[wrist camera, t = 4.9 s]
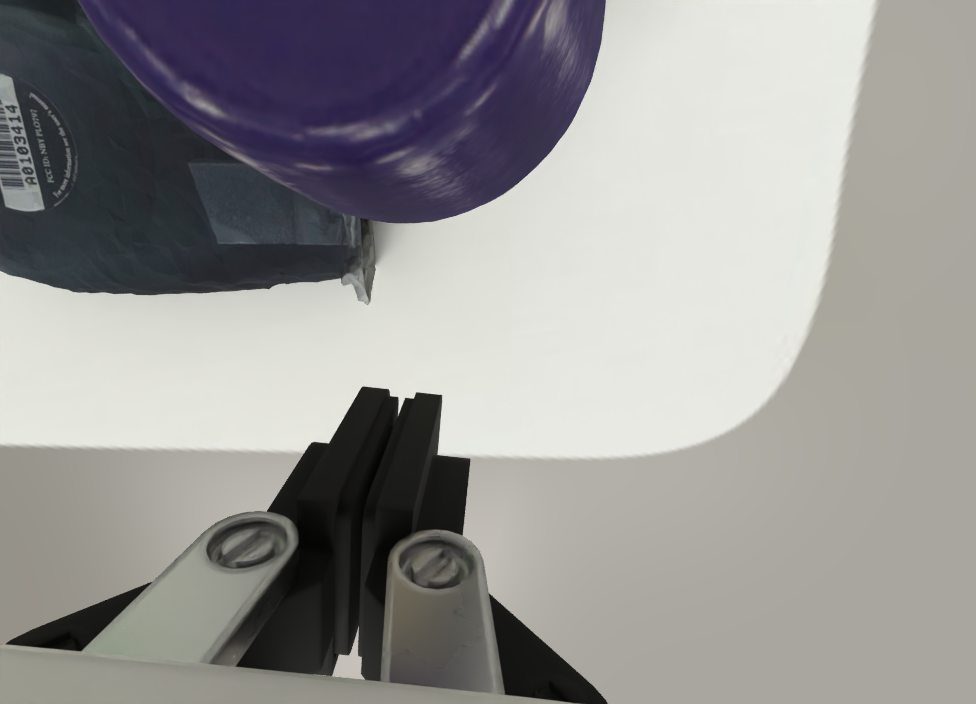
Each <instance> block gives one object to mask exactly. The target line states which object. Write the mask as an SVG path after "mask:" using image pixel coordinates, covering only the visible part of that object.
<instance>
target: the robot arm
mask: <svg viewBox="0 0 976 704" xmlns="http://www.w3.org/2000/svg"><path fill="white" fill-rule="evenodd" d="M441 407H442V395H436V394H427V393H417V392H416V394H415V397H414V399H410V398H405V400H404V403H403V405H402V408H401V411H400V413H399V416H398V397H392V396H390V391H389V389H381V388H371V387H362V388H361V389H360V391H359V393H358V395H357V396H356V398H355V400H354V401H353V403H352V405H351V407H350V408H349V410H348V412H347V413H346V415H345V417H344V419H343V420H342V422H341V424H340V425H339V427H338V429H337V431H336V432H335V434H334V436H333V437H332V439H331V441H330V443H329V444H328V443H319V442H313V443H311V444H310V445H309V447H308V448H307V450H306V451H305V453H304V454H303V456H302V457H301V459H300V461H299V462H298V464H297V465H296V467H295V469H294V470H293V472H292V473H291V475H290V476H289V478H288V479H287V481H286V482H285V484H284V485H283V487H282V489H281V490H280V492H279V493H278V495H277V496H276V498H275V499H274V501H273V503H272V504H271V506H270V507H269V509H268V510H267V512H263V511H255V512H245V513H241V514H237V515H233V516H230V517H227V518H225V519H223V520H221V521H219V522H217V523H215V524H214V525H212V526H211V527H210V528H208V529H207V530H206V531H204V532H203V533H202V534H201V535H200V537H198V538H197V539H196V540H195V541H194V542H193V543H192V544H191V545H190V546H189V547H188V548H187V549H186V550H185V551H184V552H183V553H182V554H181V555H180V556H179V557H178V558H177V559H176V560H175V561H174V562H173V563H172V564H171V565H170V566H169V567H167V568H166V569H165V571H163V572H162V573H161V574H160V575H159V576H158V577H157V578H156V579H155V580H154V581H153V582H150V583H148V584H145V585H143V586H140V587H138V588H135V589H133V590H130V591H128V592H125V593H123V594H120V595H118V596H115V597H113V598H110V599H108V600H105V601H103V602H100V603H98V604H95V605H93V606H90V607H88V608H85V609H83V610H80V611H77V612H75V613H72V614H70V615H67V616H65V617H63V618H60V619H58V620H55V621H52V622H50V623H47V624H45V625H42V626H40V627H38V628H35V629H32V630H30V631H29V632H26V633H24V634H22V635H20V636H18V637H16V638H14V639H12V640H10V641H9V642H7V643H6V644H0V704H607V702H606V700H605V699H604V698H603V696H601V694H600V693H599V692H598V691H597V690H596V688H595V687H594V686H593V685H591V684H590V683H589V682H588V681H587V680H586V679H585V678H584V677H583V676H581V675H580V674H579V673H578V672H576V670H575V669H574V668H572V667H571V666H570V665H569V664H568V663H567V662H566V661H565V660H563V659H562V658H561V657H560V656H559V655H558V654H557V653H555V652H554V651H553V650H552V649H551V648H550V647H549V646H548V645H547V644H545V643H544V642H543V641H542V640H541V639H540V638H539V637H538V636H536V635H535V634H534V633H533V632H532V631H531V630H530V629H529V628H527V627H526V626H525V625H524V624H523V623H522V622H521V621H520V620H518V619H517V618H516V617H515V616H514V615H513V614H512V613H510V612H509V611H508V610H507V609H506V608H505V607H504V606H503V605H501V604H500V603H499V602H498V601H497V600H496V599H495V598H493V596H491V595H490V594H489V592H488V586H487V580H486V574H485V567H484V561H483V558H482V556H481V553H480V551H479V550H478V548H477V547H476V546H475V545H474V544H473V543H472V542H471V541H470V540H468V539H466V538H465V537H463V536H462V535H463V526H464V517H465V506H466V496H467V487H468V477H469V467H470V459H468V458H459V457H449V456H440V455H437V453H438V442H439V430H440V419H441ZM358 626H359V640H358V642H359V643H358V656H360V657H362V668H361V674H362V676H363V677H364V678H365V680H361V679H351V678H341V677H331V676H332V674H333V671H334V668H335V665H336V661H337V659H338V655H339V654H341V655H349V654H350V652H351V649H352V646H353V643H354V640H355V636H356V633H357V630H358ZM314 674H316V675H314ZM322 675H326V676H322Z"/></svg>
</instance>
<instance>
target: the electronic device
mask: <svg viewBox="0 0 976 704" xmlns="http://www.w3.org/2000/svg"><path fill="white" fill-rule="evenodd" d="M375 270H376V269H375V264H374V242H373V231H372V220H369V219H363V218H359V217H354V216H351V215H348V214H344V213H341V212H338V211H335V210H333V209H330V208H328V207H326V206H323V205H321V204H319V203H316V202H314V201H312V200H310V199H309V198H307V197H305V196H303V195H301V194H299V193H297V192H295V191H293V190H291V189H289V188H287V187H286V186H284V185H281V184H279V183H277V182H275V181H274V180H272V179H270V178H269V177H267V176H265V175H264V174H262V173H260V172H258V171H257V170H255V169H254V168H252V167H250V166H248V165H246V164H244V163H243V162H241V161H239V160H237V159H235V158H234V157H232V156H231V155H229V154H227V153H226V152H224V151H223V150H221V149H220V148H218V147H217V146H215V145H214V144H212V143H211V142H209V141H208V140H206V139H205V138H203V137H202V136H200V135H199V134H197V133H196V132H194V131H193V130H192V129H190V128H189V127H188V126H187V125H186V124H184V123H183V122H182V121H181V120H180V119H178V118H177V117H176V116H175V115H173V114H172V113H171V112H170V111H169V110H168V109H167V108H165V107H164V106H163V105H162V104H161V103H160V102H159V101H158V100H156V99H155V98H154V97H153V96H152V95H151V94H150V93H149V92H148V91H147V90H146V89H145V88H144V87H143V86H142V85H141V84H140V82H139V81H138V80H137V79H136V78H135V77H134V76H133V75H132V73H131V72H130V71H129V70H128V69H127V68H126V67H125V65H124V64H123V63H122V62H121V61H120V60H119V59H118V57H117V56H116V55H115V54H114V53H113V52H112V51H111V49H110V48H109V47H108V46H107V45H106V44H105V43H104V41H103V40H102V39H101V38H100V36H99V35H98V33H97V32H96V30H95V29H94V27H93V26H92V24H91V23H90V21H89V19H88V18H87V16H86V14H85V12H84V11H83V9H82V7H81V5H80V4H79V2H78V0H0V271H1V272H4V273H6V274H8V275H12V276H17V277H22V278H26V279H29V280H33V281H36V282H39V283H43V284H47V285H50V286H53V287H57V288H62V289H68V290H70V291H73V292H80V293H81V292H88V293H99V292H106V293H112V294H128V293H132V294H136V295H158V294H181V293H210V292H222V291H239V290H252V289H263V288H265V289H270V288H271V287H272V286H275V285H277V284H283V283H285V284H290V283H296V282H320V281H325V280H332V279H339V278H341V283H342V284H343V285H347V284H350V283H351V284H352V285H353V286H354V288H355V291H356V293H357V298H358V301H362V302H364V303H365V304H367V305H368V304H369V303H370V299H371V290H372V285H373V279H374V275H375Z"/></svg>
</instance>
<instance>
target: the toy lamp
mask: <svg viewBox="0 0 976 704" xmlns="http://www.w3.org/2000/svg"><path fill="white" fill-rule="evenodd" d="M78 2H79V4H80V5H81V7H82V9H83V11H84V12H85V14H86V16H87V18H88V19H89V21H90V23H91V24H92V26H93V27H94V29H95V30H96V32H97V33H98V35H99V36H100V38H101V39H102V40H103V41H104V43H105V44H106V45H107V46H108V47H109V48H110V49H111V51H112V52H113V53H114V54H115V55H116V56H117V57H118V59H119V60H120V61H121V62H122V63H123V64H124V65H125V67H126V68H127V69H128V70H129V71H130V72H131V73H132V75H133V76H134V77H135V78H136V79H137V80H138V81H139V82H140V84H141V85H142V86H143V87H144V88H145V89H146V90H147V91H148V92H149V93H150V94H151V95H152V96H153V97H154V98H155V99H156V100H158V101H159V102H160V103H161V104H162V105H163V106H164V107H165V108H167V109H168V110H169V111H170V112H171V113H172V114H173V115H175V116H176V117H177V118H178V119H180V120H181V121H182V122H183V123H184V124H186V125H187V126H188V127H189V128H190V129H192V130H193V131H194V132H196V133H197V134H199V135H200V136H202V137H203V138H205V139H206V140H208V141H209V142H211V143H212V144H214V145H215V146H217V147H218V148H220V149H221V150H223V151H224V152H226V153H227V154H229V155H231V156H232V157H234V158H235V159H237V160H239V161H241V162H243V163H244V164H246V165H248V166H250V167H252V168H254V169H255V170H257V171H258V172H260V173H262V174H264V175H265V176H267V177H269V178H270V179H272V180H274V181H275V182H277V183H279V184H281V185H284V186H286V187H287V188H289V189H291V190H293V191H295V192H297V193H299V194H301V195H303V196H305V197H307V198H309V199H310V200H312V201H314V202H316V203H319V204H321V205H323V206H326V207H328V208H330V209H333V210H335V211H338V212H341V213H344V214H348V215H351V216H354V217H359V218H363V219H369V220H375V221H381V222H388V223H421V222H433V221H437V220H441V219H445V218H449V217H453V216H456V215H459V214H462V213H465V212H468V211H470V210H472V209H474V208H477V207H479V206H481V205H484V204H486V203H488V202H490V201H492V200H494V199H496V198H497V197H499V196H501V195H503V194H504V193H506V192H507V191H509V190H510V189H511V188H513V187H514V186H515V185H517V184H518V183H519V182H520V181H521V180H522V179H523V178H525V177H526V176H527V175H528V174H529V173H530V172H531V171H532V170H533V169H535V168H536V167H537V166H538V165H539V163H540V162H541V161H542V160H543V159H544V158H545V157H546V156H547V155H548V154H549V153H550V152H551V151H552V149H553V148H554V147H555V145H556V144H557V142H558V141H559V140H560V138H561V137H562V136H563V135H564V133H565V132H566V130H567V129H568V127H569V126H570V124H571V123H572V121H573V119H574V117H575V115H576V113H577V111H578V109H579V106H580V104H581V102H582V100H583V98H584V95H585V93H586V91H587V89H588V87H589V84H590V82H591V79H592V76H593V72H594V68H595V65H596V61H597V57H598V53H599V49H600V45H601V39H602V31H603V23H604V14H605V2H606V0H78Z"/></svg>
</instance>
